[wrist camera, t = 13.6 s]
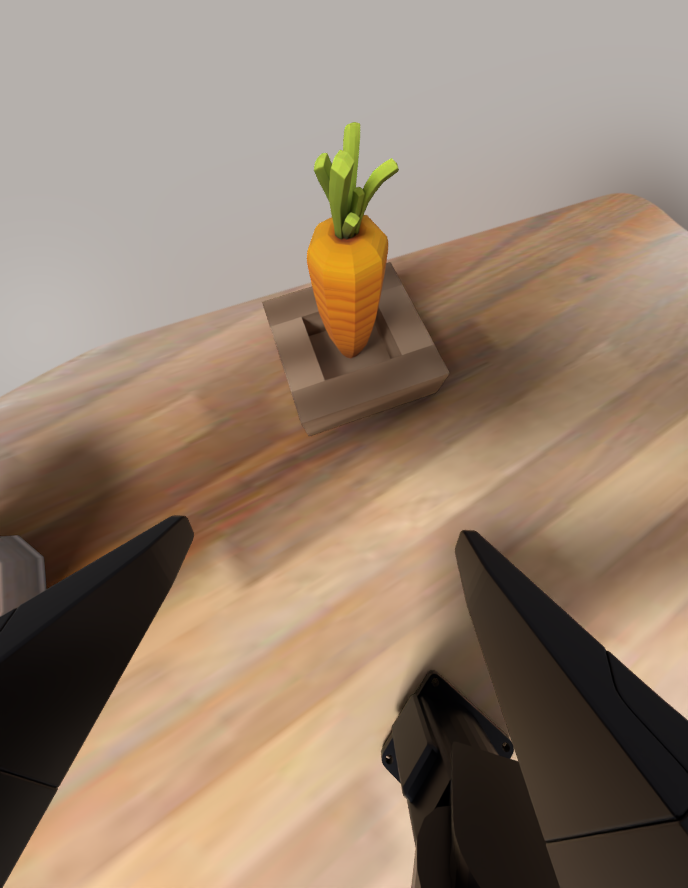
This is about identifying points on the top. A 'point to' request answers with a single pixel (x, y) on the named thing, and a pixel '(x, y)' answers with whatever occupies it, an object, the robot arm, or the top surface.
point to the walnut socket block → (354, 358)
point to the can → (19, 573)
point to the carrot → (348, 248)
